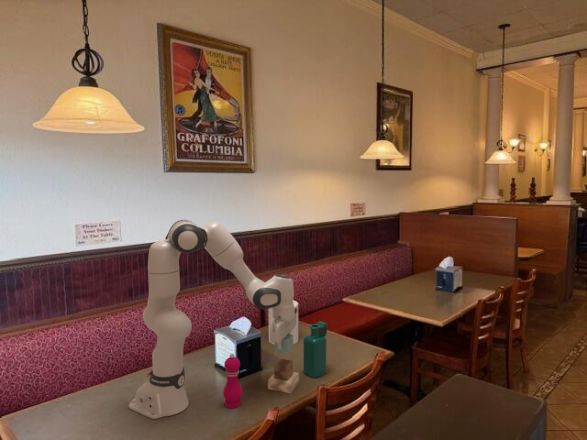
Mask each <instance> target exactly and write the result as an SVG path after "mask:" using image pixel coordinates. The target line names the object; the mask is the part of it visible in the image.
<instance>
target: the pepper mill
mask: <svg viewBox="0 0 587 440" xmlns="http://www.w3.org/2000/svg"><path fill="white" fill-rule="evenodd" d="M223 366H224V368H225V375H226V377H227V378H226V379H227V380H226V384H225V386H224V388H223V392H222V395H223V398H224V405H225V407H226V408H229V409H235V408H238V407H240V406H241V404H242V398H241V397H242V395H243V388H242V386H241V383H240V382H239V374H240V367H241V362H240V359H239V358H238V357H237V356H235V354H234V353H230V355H229V357H228V358H227V359H225V361H224V365H223Z"/></svg>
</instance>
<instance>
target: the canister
mask: <svg viewBox="0 0 587 440" xmlns="http://www.w3.org/2000/svg"><path fill="white" fill-rule="evenodd" d="M293 304H294V307H297V313H296V326H295V328H294V329H293V330H292V331H291V334H290V335H293V345H294V344H297V342H298V341H299V302H297V301H296V300H294V299H293ZM267 310H268V342H269V343H270V344H271V345H274V343H272V342H271V341H270V329H271V325H272V323H273V322H274V320H275V319H274V318H273V308H269V309H267Z"/></svg>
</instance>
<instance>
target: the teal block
mask: <svg viewBox="0 0 587 440" xmlns="http://www.w3.org/2000/svg"><path fill="white" fill-rule="evenodd" d="M282 344H283V348H282V349H281V350H279V349H278V348H277V343H274V344H273V348H274V349H273V351H274V353H277V354H283V355H289V354H290V352H292V350H293V349H294V344H293V335H290V334H288V335H287V336H286V337H285V338H283V339H282Z"/></svg>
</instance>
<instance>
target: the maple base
mask: <svg viewBox="0 0 587 440" xmlns="http://www.w3.org/2000/svg"><path fill="white" fill-rule="evenodd" d="M299 383H300V373H299V372H295V371H293V375H292V376H291V377H290V379H289V380H288V381H286V380H280V379H275V378H274V373H273V374H272V375H271V376H270V377H269V378H268V379H267V389H268V390H271V391H276V392H282V393H286V394H292V392H293V391H294V390H295V388H296V387H297V386H298V384H299Z"/></svg>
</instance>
